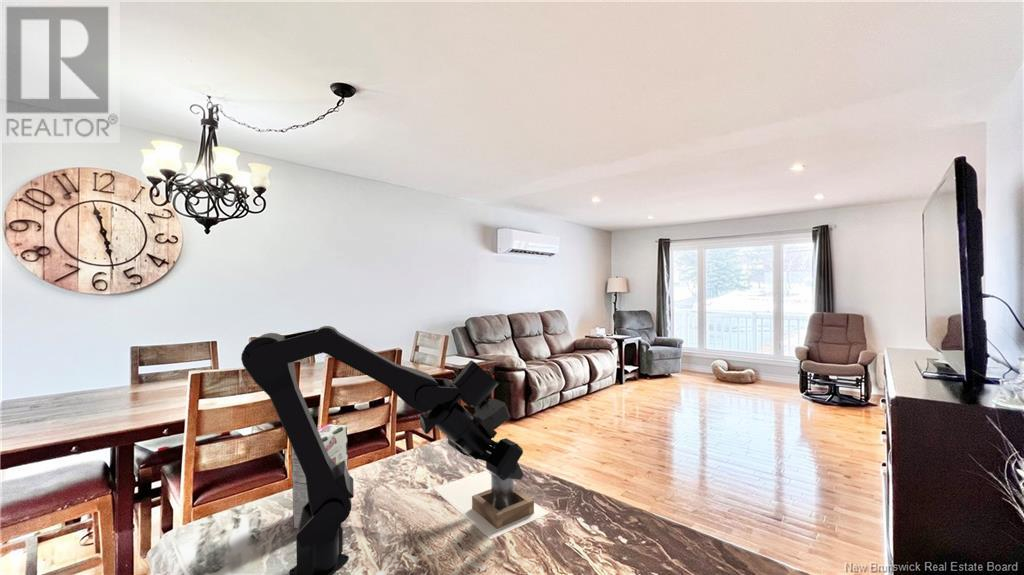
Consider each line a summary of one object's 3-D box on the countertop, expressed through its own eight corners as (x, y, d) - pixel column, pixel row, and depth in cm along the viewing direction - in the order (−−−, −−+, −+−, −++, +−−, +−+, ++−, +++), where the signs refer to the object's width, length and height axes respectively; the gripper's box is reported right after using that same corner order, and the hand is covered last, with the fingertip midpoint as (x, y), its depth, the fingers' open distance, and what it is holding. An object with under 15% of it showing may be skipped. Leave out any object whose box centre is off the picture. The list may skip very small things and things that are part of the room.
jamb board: (549, 517, 81) (549, 512, 81) (490, 544, 73) (490, 539, 73) (485, 474, 100) (485, 470, 100) (432, 492, 91) (432, 488, 91)
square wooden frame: (534, 513, 81) (533, 500, 81) (497, 529, 76) (497, 515, 76) (507, 494, 88) (507, 483, 88) (472, 508, 83) (472, 495, 83)
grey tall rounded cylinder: (508, 518, 79) (508, 450, 79) (487, 514, 81) (487, 447, 81) (516, 507, 83) (516, 442, 83) (496, 503, 85) (496, 439, 85)
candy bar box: (328, 499, 89) (327, 422, 89) (349, 501, 88) (348, 424, 88) (290, 529, 78) (289, 442, 78) (314, 532, 77) (313, 444, 77)
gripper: (514, 399, 72) (560, 448, 79) (460, 380, 87) (503, 422, 94) (475, 456, 67) (528, 502, 74) (426, 425, 82) (473, 466, 89)
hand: (507, 468), depth 83 cm, fingers open, 9 cm apart
